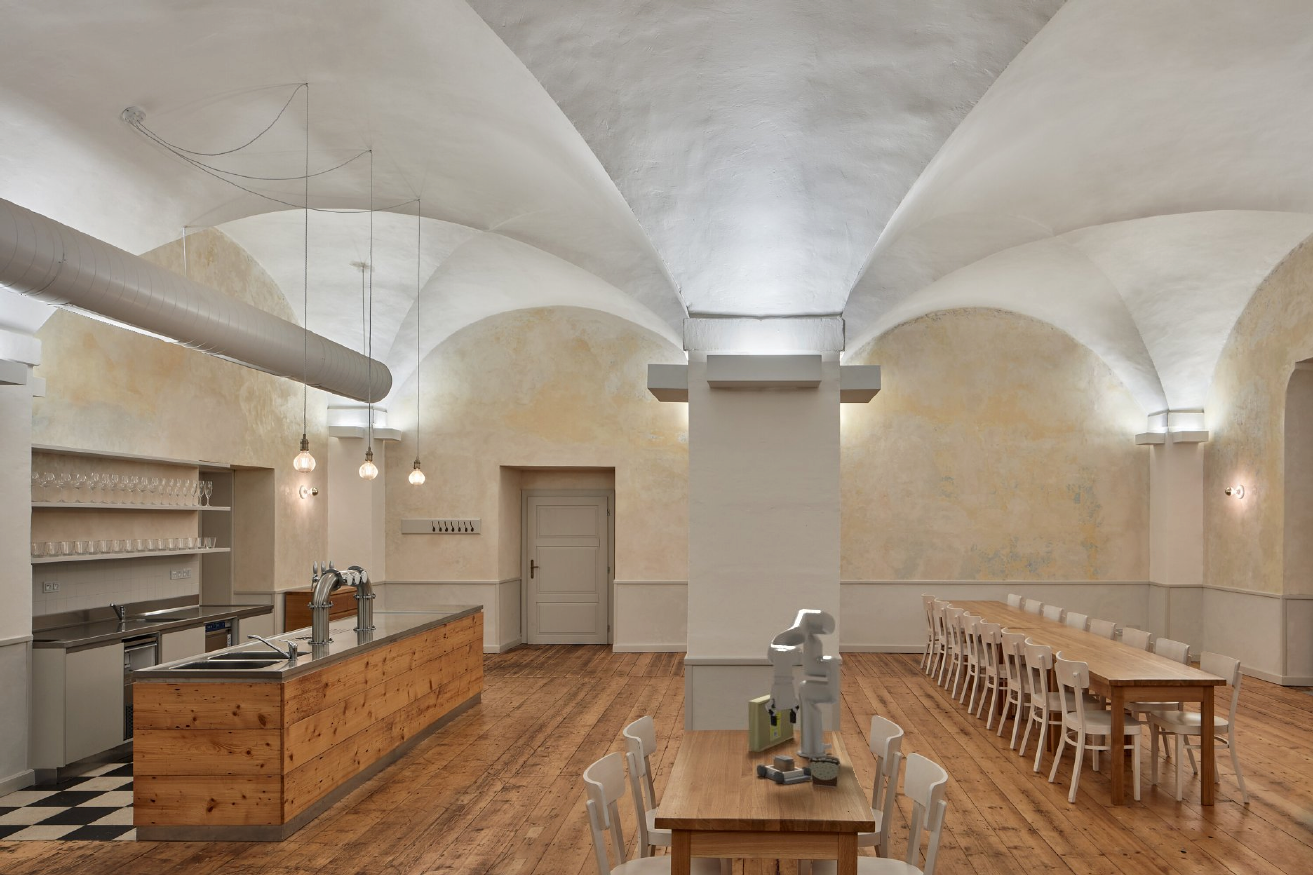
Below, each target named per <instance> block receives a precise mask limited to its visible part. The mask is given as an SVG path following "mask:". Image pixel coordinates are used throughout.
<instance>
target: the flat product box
mask: <svg viewBox="0 0 1313 875" xmlns="http://www.w3.org/2000/svg"><path fill="white" fill-rule="evenodd" d="M769 701H770V694H767V695H763V696H761V697H757V698H754V699H751V700H748V701H747V702H748V749H749V750H751V751H750V752H754V751H755V752H756V753H758V752H759V753H760V752H762V751H764V750H767V749H769V748H768V747H770V748H771V747H774V745H775V746H778V745H780V744H782V743H784V742H786V740H787V741H788V740H789V741H790V739H793V738H794V737H795V736H794V735H795V734H794V733H795V732H794V731H795V730H794V727H795V726H794V725H795V724H794V723H791V722H790V712H791V711H790V709H788V710H780V711H778V712H777V714H776V715H775V716H777V726H772V725H771V718H770V715H769V713H768V712H767V709H766V707H765V704H767V703H768V702H769ZM770 709H771V708H770ZM749 750H748V751H749Z"/></svg>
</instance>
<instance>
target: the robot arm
mask: <svg viewBox="0 0 1313 875" xmlns="http://www.w3.org/2000/svg"><path fill="white" fill-rule="evenodd" d="M835 629H836V621H835V618H834V616H832V614H830V613H829V612H827V611H824V610H819V609H818V610H817V609H800V610H798V611H796V612H795V614H794V616H793V617H792V620H791V622H790V624H789V627H788V629H786V630H783V631H782V632H780V633H778V634H777V635H775V636H774V637H773V638H772V639H771V642H770V644H769V646H768V649H767V654H766V656H767V660H768V662H769V663H770V664H772V665H773V669H772V670H773V671H772V672H773V673H772V674H773V677H772V678H773V683H771V686H770V693H769V695H770V701H769V702H768V703H767V704H765V707H766V709H767V712H768V713H769V715H770V718H771V725H772V726H777V716H775V715H776V714H777V712H778V711H780V710H788V709H790V711H791V712H790V722H791V723H794V725H796V723H797V714H798V711H800V714H799V715H800V718H799V719H800V749H798V750H797V753H796V754H797V755H798V756H800V757H803V758H809V759H810V757H813V756H828V753H827V751H826V750H827V749H831V748H832V744H831V743H824V734H823V733H824V731H823V730H824V729H823V728H824V727H823V726H824V725H823V724H824V723H823V719H824V716H823V712H822V709H821V707H820V706H819V704H825V705H836V703H837V702H838V700H839V693H840V663H839V660H838V658H836V657H835V656H833V655H824V654H823V649H824V648H823V642H822V639H821V638H820V637H819V635H827V636H829V635H832V634H833V633H834V632H835ZM801 644H802V646H803V647H802V648H800V647H799V646H800V645H801ZM798 645H799V646H798ZM801 663H802V672H803V675H804V676H806V677H811V678H821V679H823V678H824V679H827V680H815V679H814V680H813V679H805V680H802V681H800V682H799V684H798V686H797V692H798V693H797V694H798V698H797V697H796V690H795V685H794V683H793V680H795V677H794V676H793V666H798V665H800V664H801ZM770 708H771V709H770Z"/></svg>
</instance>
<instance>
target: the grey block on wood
mask: <svg viewBox="0 0 1313 875" xmlns="http://www.w3.org/2000/svg"><path fill="white" fill-rule="evenodd" d="M772 759H773V764H772V765H774V769H776V770H779V771H782V772H789V771H795V767H796V766H795V760H794V758H793V757H789V756H787V755H784V754H783V755H781V754H780V755H777V756H774V758H772Z"/></svg>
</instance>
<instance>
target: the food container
mask: <svg viewBox="0 0 1313 875" xmlns="http://www.w3.org/2000/svg"><path fill="white" fill-rule="evenodd" d="M807 764H809V767H810V769H811V783H812V786H817V785H820V787H828V788H829V787H831V788H838V781H839V770H840V767H841V761H840V759H839V758H838V757H835V756H832V755H831V756H830V755H826V756H813V757H810V758H809V759H808V762H807Z"/></svg>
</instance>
